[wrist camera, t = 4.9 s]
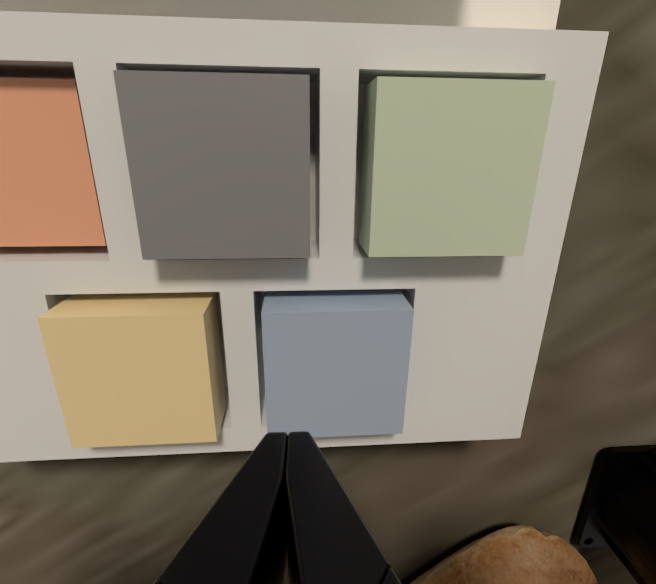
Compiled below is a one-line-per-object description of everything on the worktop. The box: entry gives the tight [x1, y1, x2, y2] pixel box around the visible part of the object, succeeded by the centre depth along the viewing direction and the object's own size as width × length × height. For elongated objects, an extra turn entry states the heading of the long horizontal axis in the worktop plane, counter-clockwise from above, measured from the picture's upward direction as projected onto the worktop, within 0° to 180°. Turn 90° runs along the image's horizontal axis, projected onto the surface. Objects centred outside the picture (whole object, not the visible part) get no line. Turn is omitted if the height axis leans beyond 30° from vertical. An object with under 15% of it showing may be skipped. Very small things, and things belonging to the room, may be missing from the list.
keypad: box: [0, 0, 609, 462], centre depth 12 cm, size 16×20×4 cm
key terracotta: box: [0, 77, 107, 247], centre depth 12 cm, size 4×4×2 cm
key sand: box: [37, 292, 226, 448], centre depth 13 cm, size 4×4×2 cm
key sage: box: [359, 76, 556, 257], centre depth 11 cm, size 4×4×2 cm
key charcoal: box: [113, 70, 310, 260], centre depth 11 cm, size 4×4×2 cm
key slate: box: [261, 289, 414, 438], centre depth 13 cm, size 4×4×2 cm
